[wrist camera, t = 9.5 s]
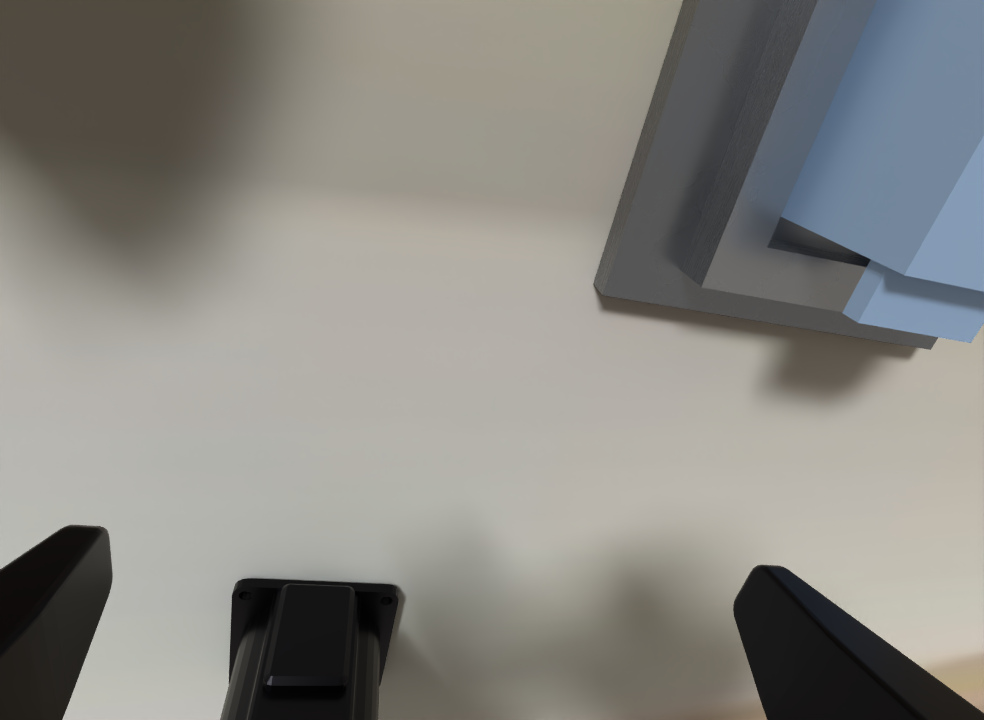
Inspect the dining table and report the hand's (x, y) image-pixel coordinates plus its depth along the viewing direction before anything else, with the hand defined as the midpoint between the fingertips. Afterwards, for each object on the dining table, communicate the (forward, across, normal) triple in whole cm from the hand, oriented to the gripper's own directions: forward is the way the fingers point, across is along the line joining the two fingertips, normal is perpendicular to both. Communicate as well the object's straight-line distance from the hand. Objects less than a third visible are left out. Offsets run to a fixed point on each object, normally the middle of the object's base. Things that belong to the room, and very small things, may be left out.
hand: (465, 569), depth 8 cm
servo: (+11, -12, -7) cm, 18 cm away
